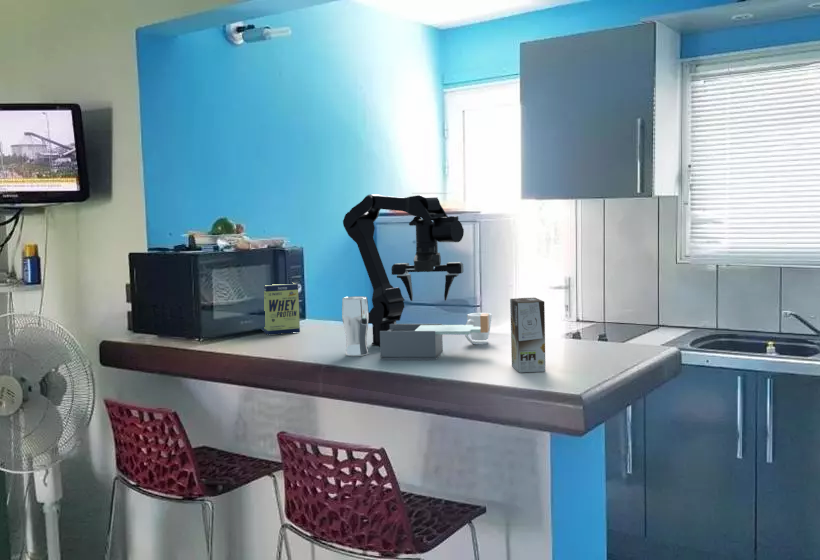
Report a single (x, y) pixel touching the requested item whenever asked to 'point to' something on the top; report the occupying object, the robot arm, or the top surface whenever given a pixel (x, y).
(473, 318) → the cup
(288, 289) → the protein box
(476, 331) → the lid
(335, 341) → the top surface
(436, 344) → the tub
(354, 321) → the beer glass
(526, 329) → the coffee box
